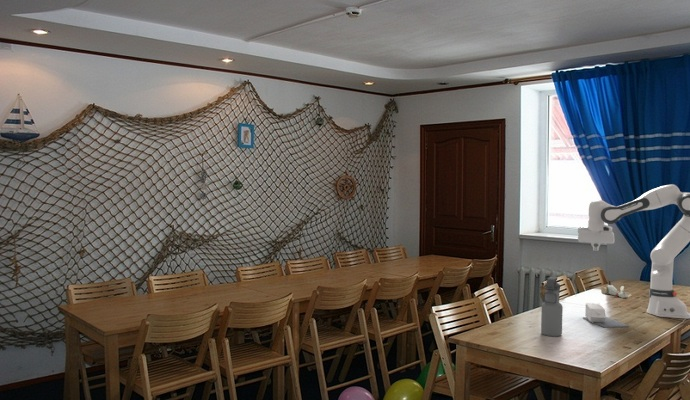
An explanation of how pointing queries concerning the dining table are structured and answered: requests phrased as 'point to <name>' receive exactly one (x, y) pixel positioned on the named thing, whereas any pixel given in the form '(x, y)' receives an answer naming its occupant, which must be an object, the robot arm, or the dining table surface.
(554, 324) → the water bottle
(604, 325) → the mat
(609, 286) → the toy dog
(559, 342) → the dining table surface
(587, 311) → the milk carton
